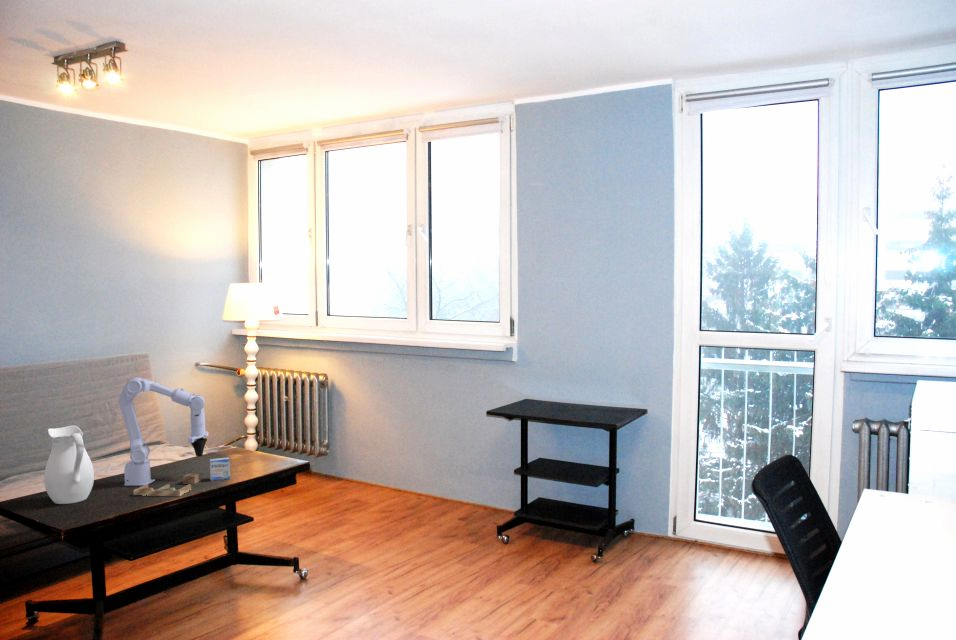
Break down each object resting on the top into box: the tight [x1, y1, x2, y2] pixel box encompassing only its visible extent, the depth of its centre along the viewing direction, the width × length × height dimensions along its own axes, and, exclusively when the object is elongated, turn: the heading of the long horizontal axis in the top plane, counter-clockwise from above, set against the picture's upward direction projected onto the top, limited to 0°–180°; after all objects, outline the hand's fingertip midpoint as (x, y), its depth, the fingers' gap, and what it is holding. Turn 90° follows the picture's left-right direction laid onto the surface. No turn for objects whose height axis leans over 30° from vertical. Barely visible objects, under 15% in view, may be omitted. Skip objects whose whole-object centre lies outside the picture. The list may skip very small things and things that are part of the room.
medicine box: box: [209, 456, 231, 482], centre depth 317 cm, size 8×4×9 cm, turn 112°
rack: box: [132, 483, 192, 497], centre depth 298 cm, size 19×9×3 cm, turn 84°
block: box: [182, 472, 201, 485], centre depth 312 cm, size 5×5×4 cm
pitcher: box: [43, 424, 95, 505], centre depth 287 cm, size 24×17×28 cm
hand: (199, 456), depth 319 cm, fingers closed
